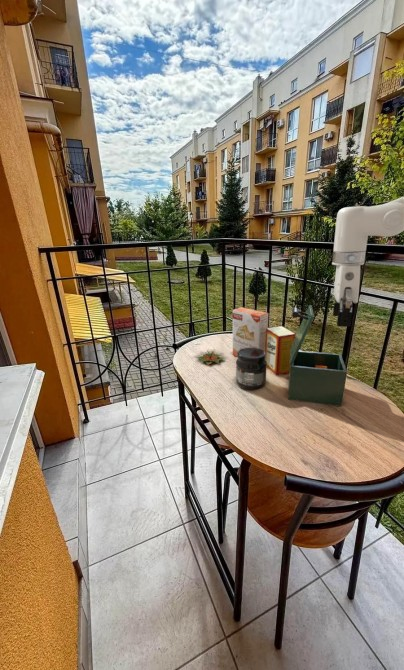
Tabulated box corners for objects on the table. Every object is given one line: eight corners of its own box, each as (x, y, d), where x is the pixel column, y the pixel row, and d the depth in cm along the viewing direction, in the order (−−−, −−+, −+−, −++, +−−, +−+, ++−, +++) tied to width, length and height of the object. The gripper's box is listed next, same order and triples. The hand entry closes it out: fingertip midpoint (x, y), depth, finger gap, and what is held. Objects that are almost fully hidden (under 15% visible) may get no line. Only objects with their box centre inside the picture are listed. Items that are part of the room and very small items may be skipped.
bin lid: (311, 305, 89) (295, 300, 90) (314, 316, 78) (295, 310, 79) (292, 349, 96) (277, 343, 97) (291, 365, 85) (274, 359, 86)
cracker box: (231, 355, 122) (231, 309, 114) (240, 351, 125) (241, 306, 118) (257, 366, 112) (259, 315, 104) (266, 361, 115) (269, 312, 108)
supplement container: (256, 374, 106) (257, 344, 101) (271, 387, 96) (273, 355, 92) (230, 379, 102) (230, 349, 98) (244, 394, 93) (245, 361, 89)
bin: (336, 385, 96) (340, 354, 92) (341, 406, 85) (347, 372, 80) (288, 380, 100) (291, 350, 96) (287, 399, 89) (290, 366, 85)
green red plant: (191, 358, 120) (190, 349, 119) (213, 351, 126) (213, 342, 125) (206, 369, 111) (206, 358, 109) (230, 360, 117) (230, 350, 115)
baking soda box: (264, 364, 112) (266, 327, 107) (279, 362, 114) (281, 325, 108) (276, 375, 104) (278, 335, 98) (292, 372, 105) (295, 333, 100)
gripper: (372, 261, 64) (362, 331, 70) (358, 254, 80) (350, 312, 86) (336, 262, 67) (329, 330, 73) (329, 255, 82) (324, 312, 88)
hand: (341, 320), depth 79 cm, fingers open, 9 cm apart
